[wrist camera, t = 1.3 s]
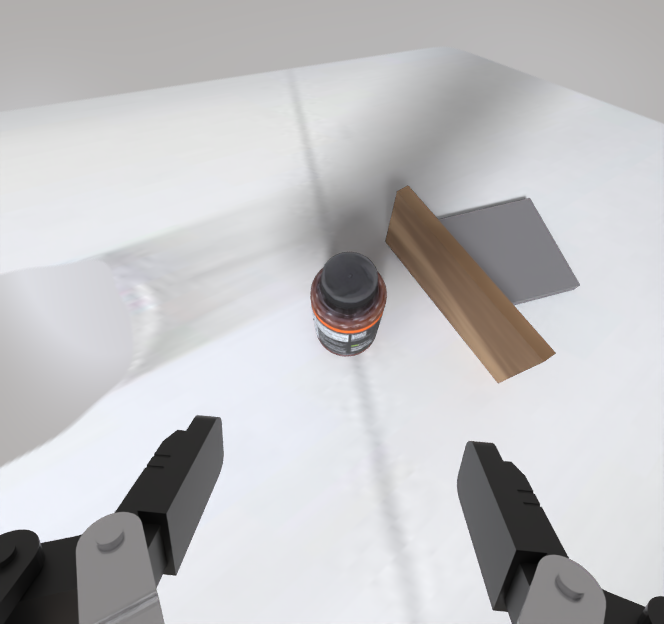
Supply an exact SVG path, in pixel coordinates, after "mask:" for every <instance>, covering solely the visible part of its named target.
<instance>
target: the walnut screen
mask: <svg viewBox="0 0 664 624" xmlns="http://www.w3.org/2000/svg"><path fill="white" fill-rule="evenodd" d="M385 242H386V243H387V244H388V246H389V247H390V248H391V249H392V251H393V252H394V253H395V254H396V256H397V257H398V258H399V259H400V261H401V262H402V263H403V264H404V266H405V267H406V268H407V269H408V271H409V272H410V273H411V274H412V276H413V277H414V278H415V279H416V281H417V282H418V283H419V285H420V286H421V287H422V288H423V290H424V291H425V292H426V293H427V295H428V296H429V297H430V298H431V300H432V301H433V302H434V303H435V305H436V306H437V307H438V308H439V310H440V311H441V312H442V313H443V315H444V316H445V317H446V318H447V320H448V321H449V322H450V323H451V325H452V326H453V327H454V329H455V330H456V331H457V332H458V334H459V335H460V336H461V337H462V339H463V340H464V341H465V342H466V344H467V345H468V346H469V347H470V349H471V350H472V351H473V352H474V354H475V355H476V356H477V357H478V359H479V360H480V361H481V362H482V364H483V365H484V366H485V368H486V369H487V370H488V371H489V373H490V374H491V375H492V376H493V378H494V379H495V380H496V381H497V383H500V382H502V381H504V380H506V379H508V378H510V377H513V376H515V375H517V374H519V373H521V372H523V371H525V370H527V369H530V368H532V367H534V366H536V365H538V364H540V363H542V362H544V361H546V360H547V359H548V358H550V357H551V356H553V355H554V354H556V353H555V352H554V350H553V349H552V348H551V347H550V346H549V345H548V344H547V343H546V341H545V340H544V339H543V338H542V337H541V336H540V335H539V333H538V332H537V331H536V330H535V329H534V328H533V327H532V325H531V324H530V323H529V322H528V321H527V320H526V319H525V318H524V316H523V315H522V314H521V313H520V312H519V311H518V310H517V308H516V307H515V306H514V305H513V304H512V303H511V302H510V300H509V299H508V298H507V297H506V296H505V295H504V294H503V293H502V291H501V290H500V289H499V288H498V287H497V286H496V285H495V283H494V282H493V281H492V280H491V279H490V278H489V277H488V276H487V274H486V273H485V272H484V271H483V270H482V269H481V268H480V266H479V265H478V264H477V263H476V262H475V261H474V260H473V258H472V257H471V256H470V255H469V254H468V253H467V252H466V251H465V249H464V248H463V247H462V246H461V245H460V244H459V243H458V241H457V240H456V239H455V238H454V237H453V236H452V235H451V233H450V232H449V231H448V230H447V229H446V228H445V227H444V226H443V224H442V223H441V222H440V221H439V220H438V219H437V218H436V216H435V215H434V214H433V213H432V212H431V211H430V210H429V208H428V207H427V206H426V205H425V204H424V203H423V202H422V201H421V199H420V198H419V197H418V196H417V195H416V194H415V193H414V191H413V190H412V189H411V188H410V187H409V186H406V187H404V188H402V189H401V190H399V191H397V194H396V198H395V202H394V207H393V211H392V215H391V219H390V224H389V228H388V232H387V236H386V241H385Z"/></svg>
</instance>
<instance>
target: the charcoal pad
mask: <svg viewBox="0 0 664 624" xmlns="http://www.w3.org/2000/svg"><path fill="white" fill-rule="evenodd" d="M438 220H439V221H440V222H441V223H442V224H443V226H444V227H445V228H446V229H447V230H448V231H449V232H450V233H451V235H452V236H453V237H454V238H455V239H456V240H457V241H458V243H459V244H460V245H461V246H462V247H463V248H464V249H465V251H466V252H467V253H468V254H469V255H470V256H471V257H472V258H473V260H474V261H475V262H476V263H477V264H478V265H479V266H480V268H481V269H482V270H483V271H484V272H485V273H486V274H487V276H488V277H489V278H490V279H491V280H492V281H493V282H494V283H495V285H496V286H497V287H498V288H499V289H500V290H501V291H502V293H503V294H504V295H505V296H506V297H507V298H508V299H509V300H510V302H511V303H512V304H513V305H517V304H520V303H524V302H528V301H532V300H536V299H539V298H543V297H547V296H551V295H555V294H559V293H562V292H566V291H570V290H574V289H575V288H577V287H578V286H580V284H579V282H578V281H577V279H576V277H575V275H574V274H573V272H572V270H571V268H570V267H569V265H568V263H567V261H566V260H565V258H564V256H563V254H562V253H561V251H560V249H559V248H558V246H557V244H556V242H555V241H554V239H553V237H552V235H551V234H550V232H549V230H548V228H547V227H546V225H545V223H544V222H543V220H542V218H541V216H540V215H539V213H538V211H537V209H536V208H535V206H534V204H533V202H532V201H531V199H530V198H527V199H523V200H519V201H514V202H510V203H506V204H502V205H497V206H493V207H489V208H485V209H480V210H476V211H472V212H467V213H463V214H459V215H455V216H450V217H446V218H442V219H438Z"/></svg>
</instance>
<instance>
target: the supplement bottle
mask: <svg viewBox="0 0 664 624" xmlns="http://www.w3.org/2000/svg"><path fill="white" fill-rule="evenodd" d="M386 299H387V291H386V286H385V283H384V280H383V278H382V277H381V275H380V274H379V273H378V271H377V270H376V267H375V266H374V264H373V263H372V262H371V261H370V260H369V259H368V258H367V257H365V256H363V255H361V254H359V253H354V252H344V253H340V254H337V255H335V256H333V257H332V258H331V259H329V260H328V262H327V263H326V264H325V266H324V267H323V268H322V269H321V270H320V271H319V272H318V274H317V275H316V276H315V278H314V280H313V283H312V286H311V305H312V311H313V317H314V319H313V320H314V323H315V329H316V333H317V336H318V338H319V340H320V342H321V344H322V345H323V346H324V347H325V348H326V349H327V350H328V351H330V352H331V353H333V354H336V355H339V356H354V355H357V354H360V353H362V352H364V351H365V350H366V349H368V348H369V347H370V345H371V344H372V342H373V341H374V339H375V336H376V333H377V330H378V327H379V324H380V320H381V317H382V314H383V311H384V307H385V304H386Z"/></svg>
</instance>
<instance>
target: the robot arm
mask: <svg viewBox="0 0 664 624" xmlns="http://www.w3.org/2000/svg"><path fill="white" fill-rule="evenodd" d="M223 456H224V451H223V435H222V421H221V418H220V417H211V416H200V415H197V416H196V417H195V418H194V419H193V421H192V422H191V424H190V426H189V427H188V429H187V430H186V431H183V430H177V431H175V432H174V433H173V434H172V435H170V436H169V437H168V438H166V439H165V440H164V441H163V442H162V444H161V445H160V447H159V448H158V449H157V451H156V452H155V454H154V457H152V458H151V460H150V461H149V463H148V464H147V467H146V468H145V469H144V470H143V472H142V473H141V475H140V476H139V478H138V479H137V481H136V482H135V484H134V485H133V486H132V488H131V489H130V491H129V492H128V494H127V495H126V497H125V498H124V500H123V501H122V503H121V504H120V506H119V507H118V509H117V510H116V511H115V513H113V514H110V515H107V516H105V517H103V518H101V519H99V520H97V521H96V522H95V523H93V524H92V525H91V526H90V527H89V528H87V530H86V531H85V532H84V533H83V534H82V535H78V536H74V537H70V538H65V539H59V540H54V541H49V542H44V543H40V540H39V538H38V536H37V534H36V533H34V532H33V531H30V530H15V531H11V532H7V533H4V534H2V535H0V624H164V619H163V615H162V610H161V606H160V601H159V597H158V594H157V590H156V588H157V586H158V583H159V581H160V579H161V577H162V575H163V574H166V575H175V576H176V575H177V572H178V570H179V568H180V565H181V563H182V561H183V558H184V556H185V554H186V551H187V549H188V547H189V544H190V542H191V540H192V537H193V535H194V533H195V530H196V528H197V526H198V523H199V521H200V519H201V516H202V514H203V512H204V509H205V507H206V505H207V502H208V500H209V498H210V495H211V493H212V491H213V488H214V486H215V484H216V481H217V479H218V477H219V474H220V471H221V468H222V464H223ZM457 490H458V496H459V500H460V503H461V507H462V510H463V513H464V517H465V520H466V523H467V526H468V530H469V533H470V536H471V540H472V543H473V546H474V550H475V553H476V556H477V559H478V563H479V566H480V569H481V573H482V576H483V579H484V583H485V586H486V589H487V593H488V596H489V599H490V602H491V606H492V609H493V610H495V611H505V612H508V613H509V616H510V619H511V622H512V624H664V597H663V596H659V597H654V598H652V599H651V600H650V601H649V603H648V604H647V606H646V607H644V606H642V605H639V604H637V603H634V602H632V601H629V600H627V599H624V598H622V597H619V596H617V595H614V594H612V593H610V592H607V591H605V590H603V589H602V588H601V587H600V585H599V584H598V582H597V581H596V580H595V578H594V577H593V576H592V575H591V574H590V573H589V572H588V571H587V570H586V569H585V568H583V567H582V566H581V565H579V564H578V563H576V562H574V561H573V560H571V559H569V557H568V556H567V554H566V552H565V550H564V548H563V546H562V544H561V543H560V541H559V539H558V537H557V535H556V533H555V531H554V529H553V527H552V526H551V524H550V522H549V520H548V518H547V516H546V514H545V512H544V510H543V509H542V507H540V503H539V501H538V499H537V497H536V495H535V494H533V490H532V488H531V486H530V484H529V482H528V480H527V478H526V477H525V475H524V474H523V473H522V472H521V471H520V470H519V469H518V468H517V467H516V466H515V465H514V464H513V463H512V462H507V461H503V460H502V458H501V456H500V454H499V452H498V450H497V448H496V446H495V445H494V444H493V443H486V442H475V441H468V442H467V444H466V447H465V451H464V455H463V458H462V462H461V466H460V470H459V474H458V479H457Z"/></svg>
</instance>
